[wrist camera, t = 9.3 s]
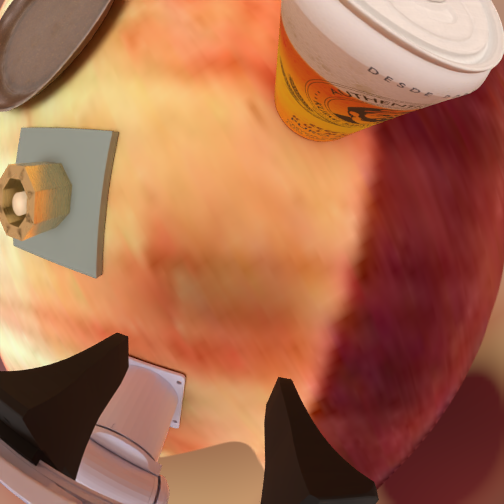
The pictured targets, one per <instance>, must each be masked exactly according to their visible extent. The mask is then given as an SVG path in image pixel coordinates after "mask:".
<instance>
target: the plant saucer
mask: <svg viewBox="0 0 504 504" xmlns="http://www.w3.org/2000/svg"><path fill="white" fill-rule="evenodd" d="M113 1H114V0H13V1H12V3H11V4H10V5H9V7H8V8H7V10H6V11H5V13H4V14H3V16H2V18H1V19H0V111H2V112H3V111H9V110H12V109H14V108H16V107H18V106H20V105H22V104H24V103H25V102H27V101H29V100H30V99H32V98H33V97H34V96H36V95H37V94H38V93H40V92H41V91H42V90H43V89H45V88H46V87H47V86H48V85H50V84H51V83H52V82H53V81H54V80H55V79H56V78H57V77H58V76H59V75H60V74H61V73H62V72H63V71H64V70H65V69H66V68H67V67H68V66H69V65H70V64H71V63H72V62H73V61H74V59H75V58H76V57H77V56H78V55H79V54H80V53H81V51H82V50H83V49H84V48H85V46H86V45H87V44H88V42H89V41H90V40H91V38H92V37H93V35H94V34H95V33H96V31H97V30H98V28H99V27H100V25H101V24H102V22H103V20H104V19H105V17H106V15H107V14H108V12H109V10H110V8H111V6H112V4H113Z"/></svg>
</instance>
